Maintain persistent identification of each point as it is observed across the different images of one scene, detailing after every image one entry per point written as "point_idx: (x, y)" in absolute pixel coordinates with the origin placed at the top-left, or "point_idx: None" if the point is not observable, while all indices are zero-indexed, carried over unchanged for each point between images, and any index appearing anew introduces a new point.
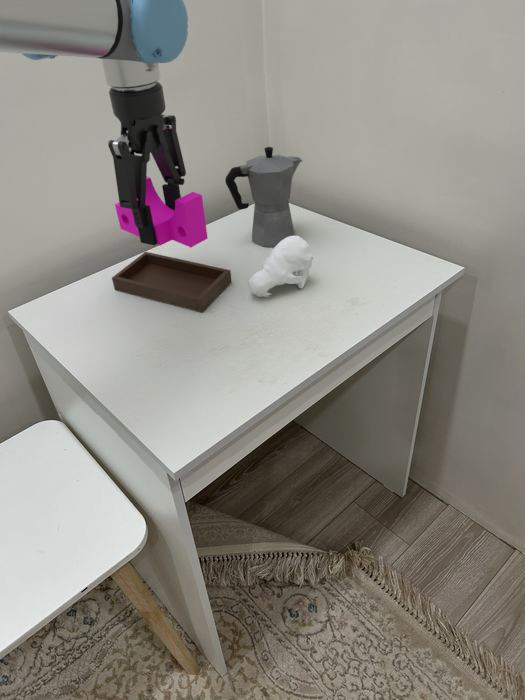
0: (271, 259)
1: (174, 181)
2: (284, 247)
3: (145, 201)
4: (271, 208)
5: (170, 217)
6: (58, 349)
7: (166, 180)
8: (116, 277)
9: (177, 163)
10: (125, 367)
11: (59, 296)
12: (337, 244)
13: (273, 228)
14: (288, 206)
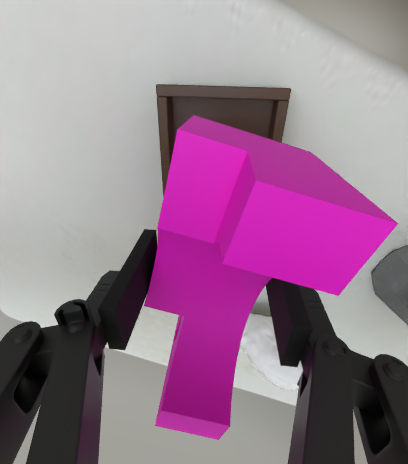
0: (251, 353)
1: (302, 378)
2: (265, 376)
3: (103, 366)
4: None
5: (211, 305)
6: None
7: (311, 355)
8: (162, 96)
9: (373, 460)
10: (38, 226)
11: None
12: (381, 342)
13: (395, 305)
14: None
